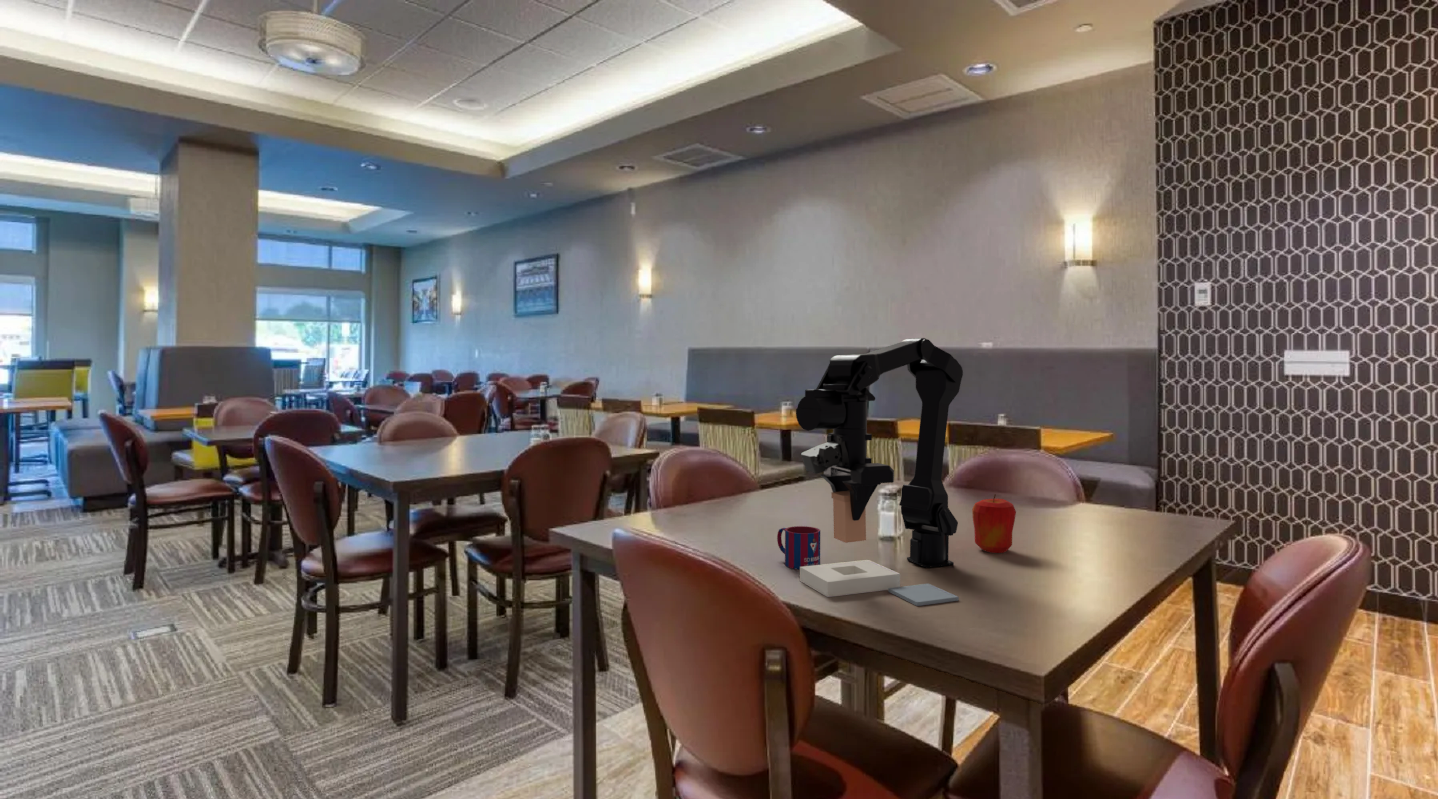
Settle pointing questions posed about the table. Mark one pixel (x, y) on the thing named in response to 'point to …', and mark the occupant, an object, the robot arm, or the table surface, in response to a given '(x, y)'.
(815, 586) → the white flat block
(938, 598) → the pad
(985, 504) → the apple
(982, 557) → the table surface
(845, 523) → the plug
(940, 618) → the table surface
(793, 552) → the mug
